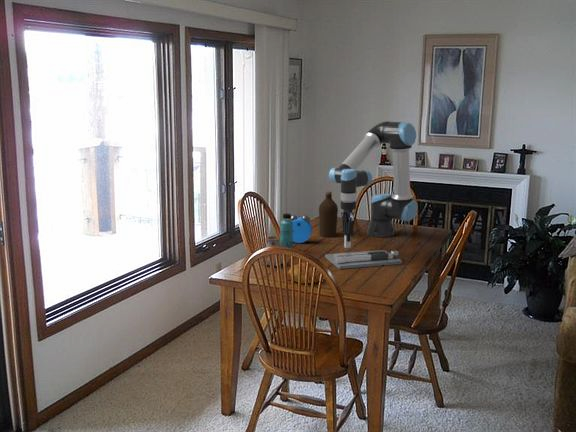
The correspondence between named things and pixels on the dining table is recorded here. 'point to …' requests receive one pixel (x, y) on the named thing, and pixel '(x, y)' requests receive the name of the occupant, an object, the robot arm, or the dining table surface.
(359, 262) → the slate board
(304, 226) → the alarm clock
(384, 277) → the dining table surface
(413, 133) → the robot arm
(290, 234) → the beverage bottle
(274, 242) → the coffee pot
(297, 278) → the croissant
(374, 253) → the tong arm
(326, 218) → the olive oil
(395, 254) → the tongs fixed arm
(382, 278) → the dining table surface
